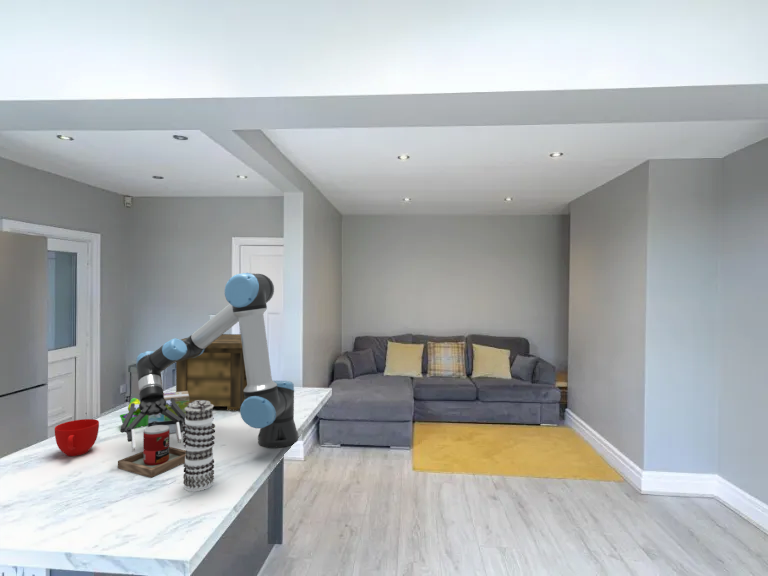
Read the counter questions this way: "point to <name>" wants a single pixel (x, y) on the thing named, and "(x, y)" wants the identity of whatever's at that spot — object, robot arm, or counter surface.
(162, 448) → the canned food
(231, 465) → the counter surface
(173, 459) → the tray
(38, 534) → the counter surface
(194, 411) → the decorative candle
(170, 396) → the tea box
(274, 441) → the robot arm
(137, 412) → the fruit basket
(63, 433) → the ceramic cup
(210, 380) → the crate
